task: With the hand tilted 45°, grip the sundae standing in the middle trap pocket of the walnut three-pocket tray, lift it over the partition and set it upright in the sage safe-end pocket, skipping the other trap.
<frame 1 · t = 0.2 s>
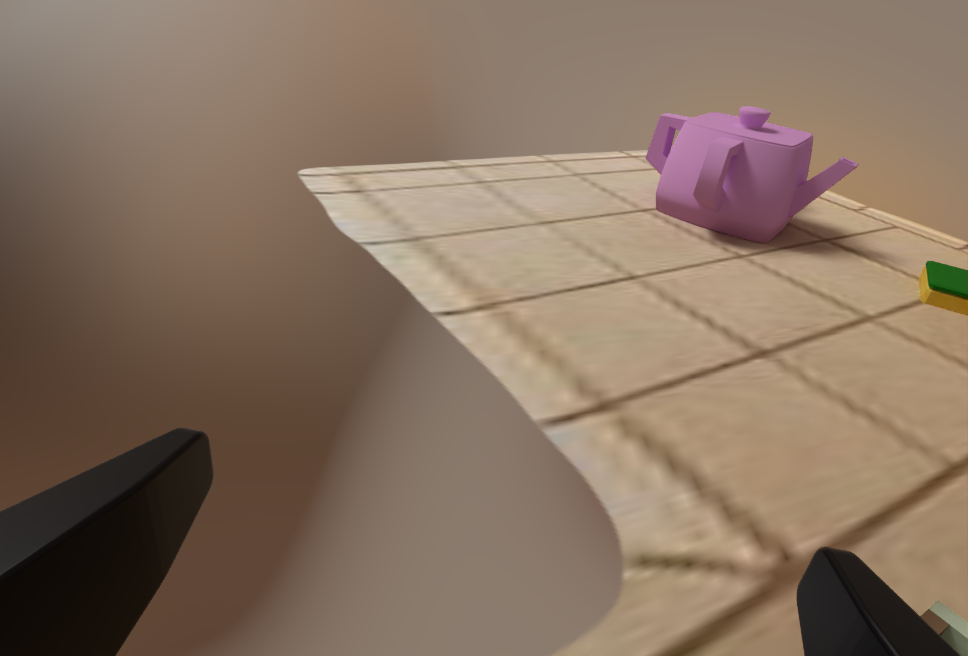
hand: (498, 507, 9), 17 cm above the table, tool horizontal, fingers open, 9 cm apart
teakettle: (726, 218, 75), on the table
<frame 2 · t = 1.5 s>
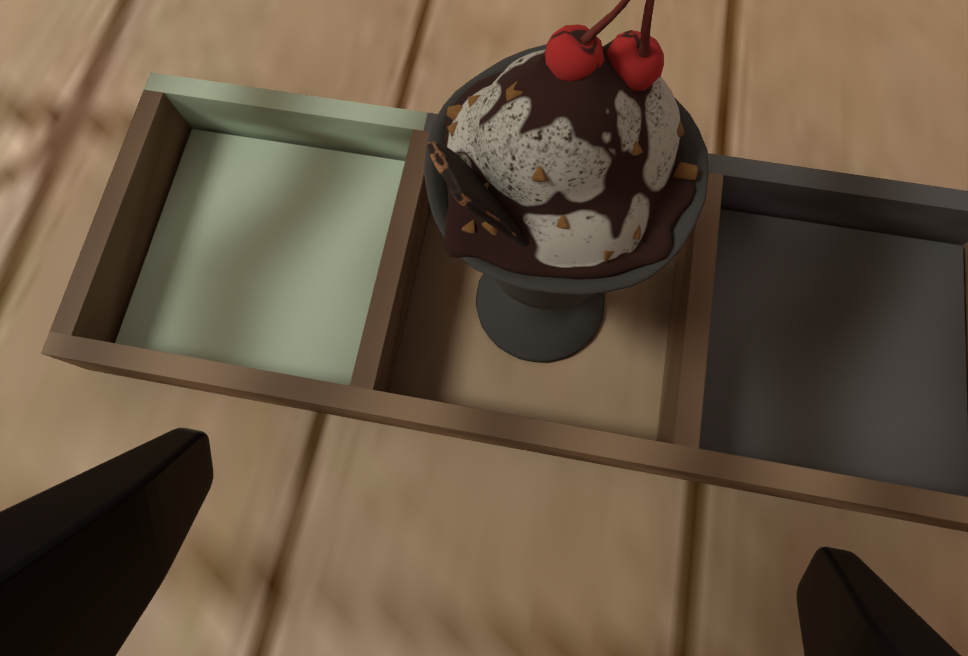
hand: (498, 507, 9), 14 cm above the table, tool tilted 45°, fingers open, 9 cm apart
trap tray: (540, 299, 25), on the table
sundae: (539, 300, 25), resting in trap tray
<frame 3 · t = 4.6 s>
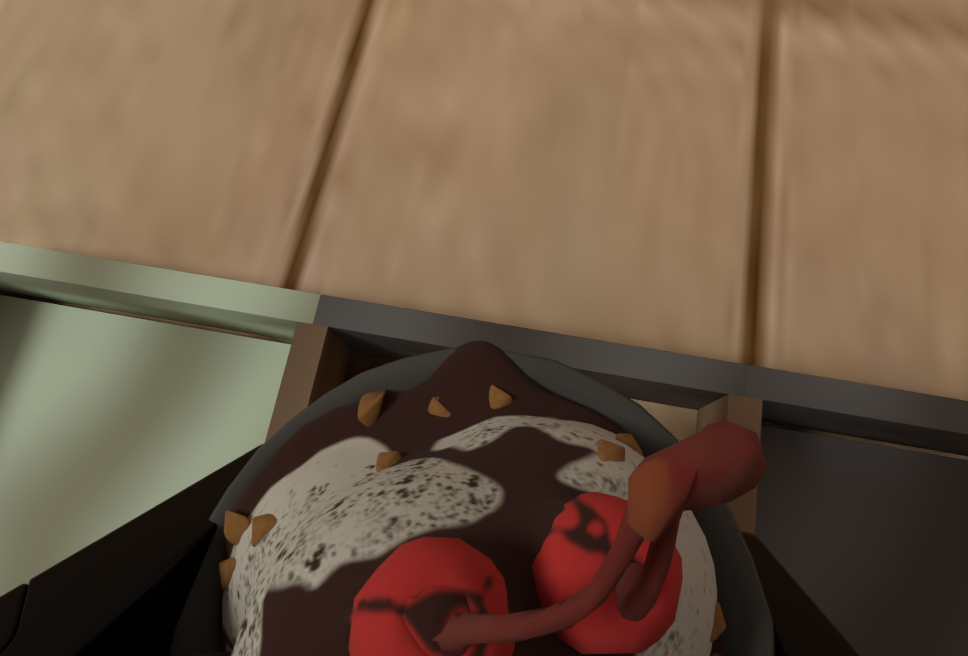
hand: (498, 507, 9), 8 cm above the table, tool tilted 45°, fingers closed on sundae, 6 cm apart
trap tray: (490, 563, 17), on the table
sundae: (490, 562, 17), resting in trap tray, touching gripper
when the fingers open (9 cm above the table, at t = 8.3 s): sundae stays where it is, resting on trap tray.
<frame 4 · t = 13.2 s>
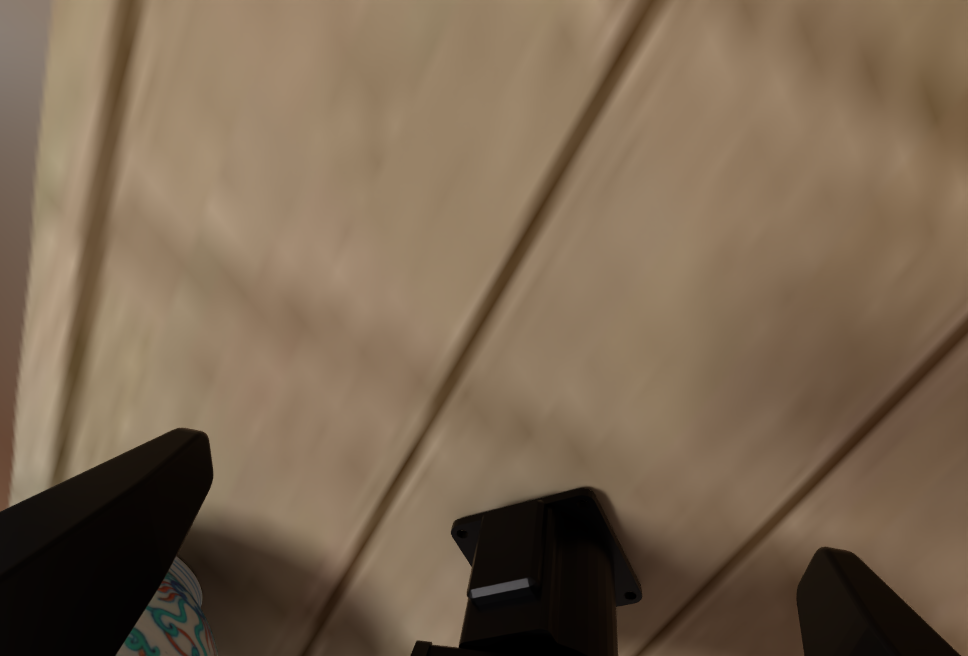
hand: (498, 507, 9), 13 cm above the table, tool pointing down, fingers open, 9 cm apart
chinaware: (144, 575, 33), on the table
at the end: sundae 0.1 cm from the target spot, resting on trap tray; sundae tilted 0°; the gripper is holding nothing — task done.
